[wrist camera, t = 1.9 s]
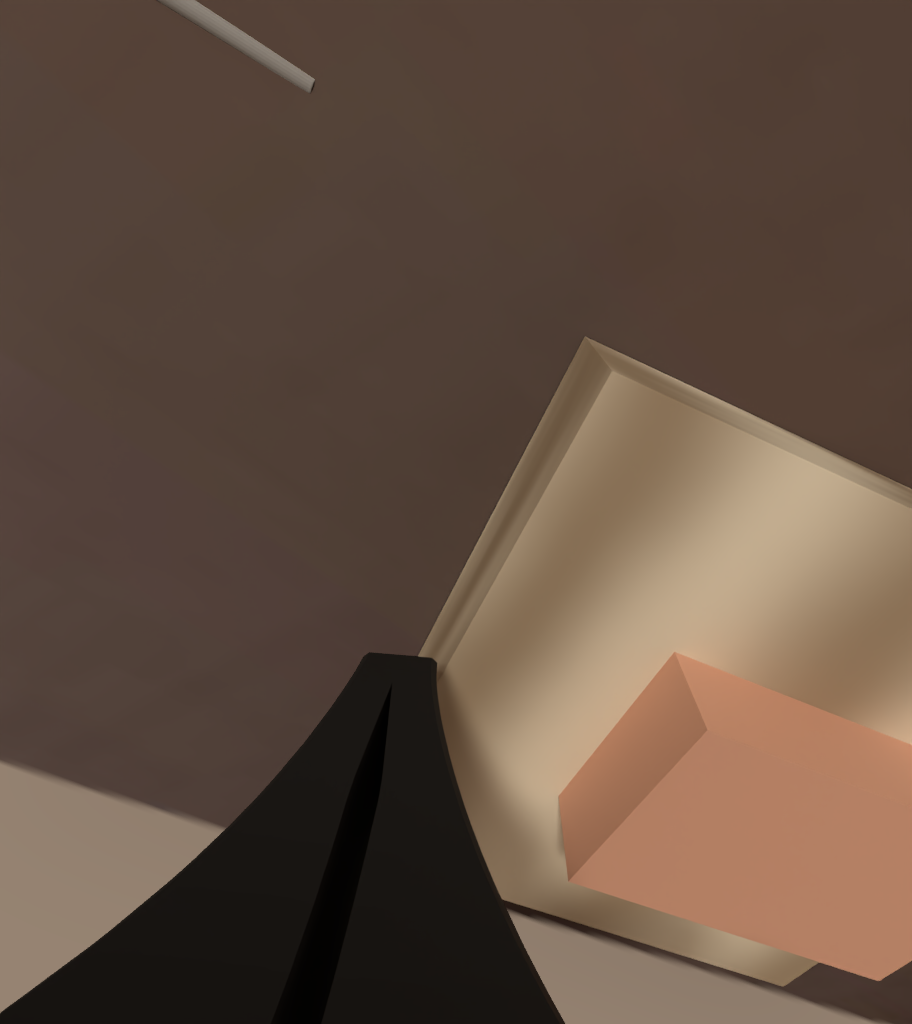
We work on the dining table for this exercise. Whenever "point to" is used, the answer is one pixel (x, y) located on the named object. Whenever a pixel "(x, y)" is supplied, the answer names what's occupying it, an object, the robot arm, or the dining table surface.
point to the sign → (239, 41)
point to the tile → (750, 819)
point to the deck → (659, 612)
